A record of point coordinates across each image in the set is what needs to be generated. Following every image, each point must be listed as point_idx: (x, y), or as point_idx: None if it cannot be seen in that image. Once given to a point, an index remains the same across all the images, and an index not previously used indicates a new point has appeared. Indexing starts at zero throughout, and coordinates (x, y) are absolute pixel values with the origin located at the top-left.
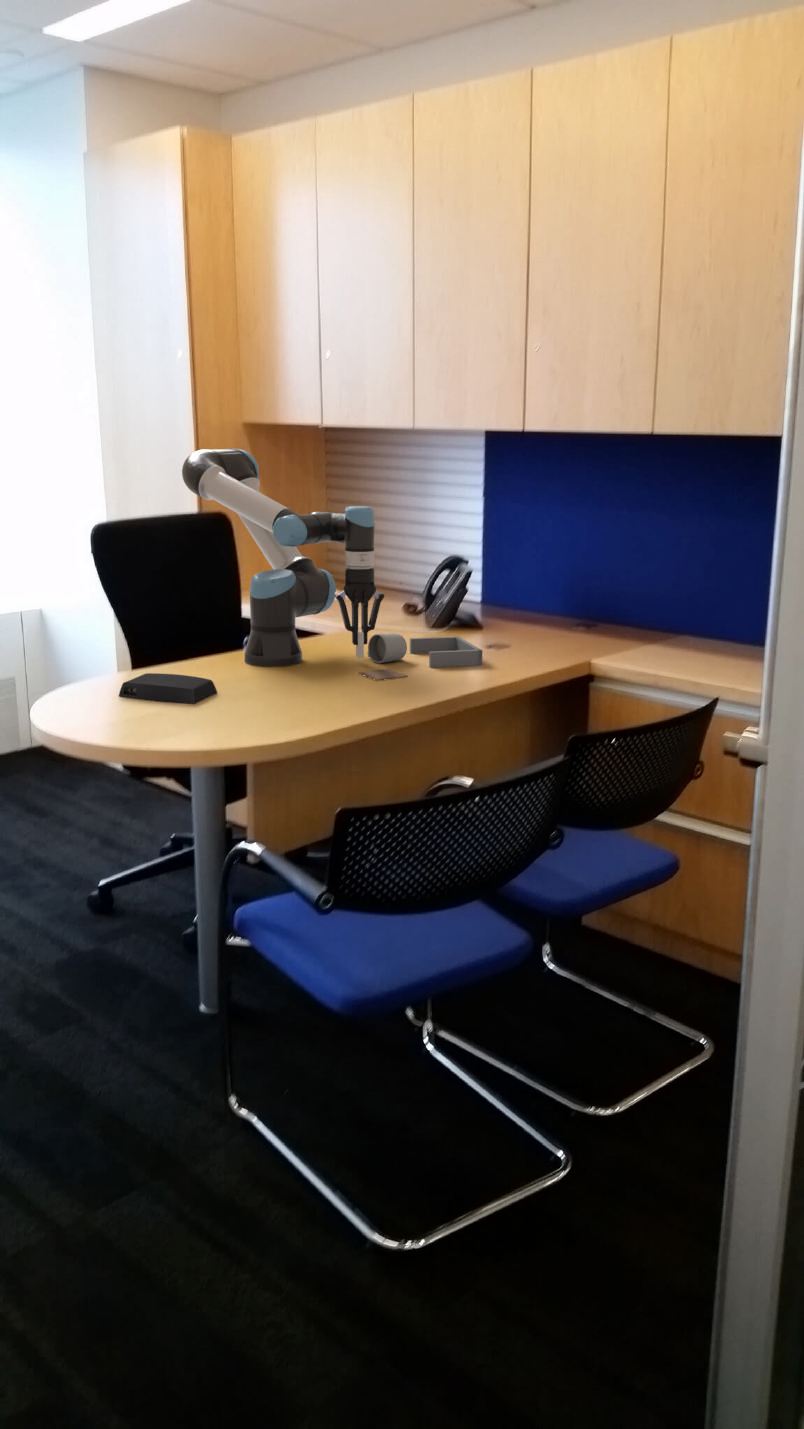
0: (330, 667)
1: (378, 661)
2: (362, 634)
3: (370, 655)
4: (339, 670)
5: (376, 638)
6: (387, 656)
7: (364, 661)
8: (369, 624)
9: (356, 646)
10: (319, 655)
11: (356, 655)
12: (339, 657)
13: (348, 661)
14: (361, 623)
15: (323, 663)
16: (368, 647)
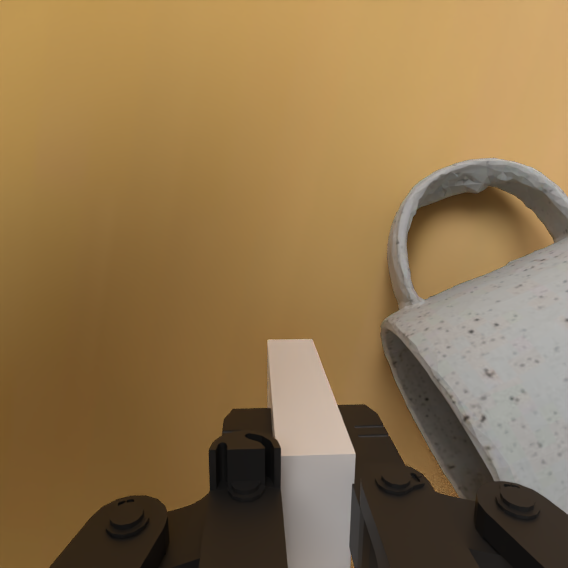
0: (53, 465)
1: (417, 374)
2: (330, 563)
3: (386, 335)
4: None
5: (515, 362)
6: (475, 482)
7: (330, 322)
8: (514, 553)
9: (269, 395)
10: (4, 24)
11: (267, 361)
12: (170, 146)
13: (214, 303)
14: (385, 563)
15: (14, 339)
16: (395, 333)
